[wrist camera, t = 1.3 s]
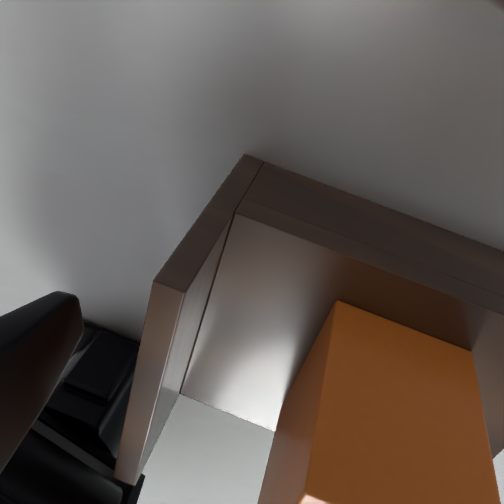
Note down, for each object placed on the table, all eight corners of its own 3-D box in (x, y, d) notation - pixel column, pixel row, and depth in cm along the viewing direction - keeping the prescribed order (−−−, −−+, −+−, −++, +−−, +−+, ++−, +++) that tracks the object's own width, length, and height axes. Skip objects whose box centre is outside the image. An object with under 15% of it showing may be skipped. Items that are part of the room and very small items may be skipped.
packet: (394, 451, 22) (394, 662, 16) (281, 406, 23) (234, 595, 16) (475, 352, 18) (520, 580, 12) (336, 298, 19) (304, 492, 12)
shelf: (439, 418, 27) (459, 621, 19) (194, 321, 28) (112, 477, 20) (564, 273, 21) (671, 483, 13) (243, 153, 22) (152, 280, 14)
